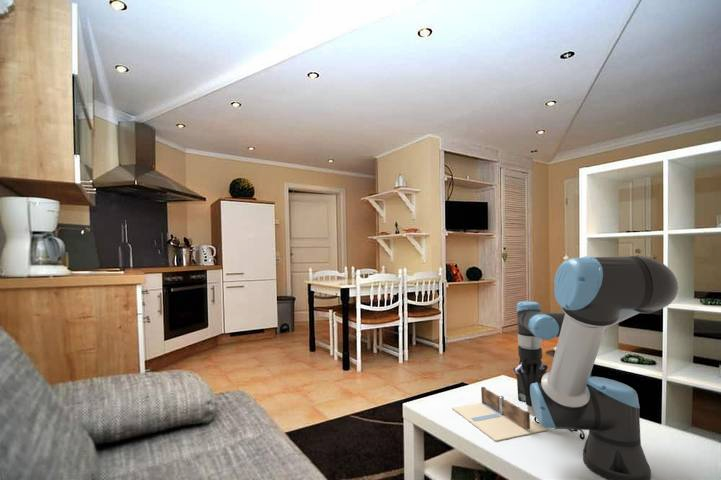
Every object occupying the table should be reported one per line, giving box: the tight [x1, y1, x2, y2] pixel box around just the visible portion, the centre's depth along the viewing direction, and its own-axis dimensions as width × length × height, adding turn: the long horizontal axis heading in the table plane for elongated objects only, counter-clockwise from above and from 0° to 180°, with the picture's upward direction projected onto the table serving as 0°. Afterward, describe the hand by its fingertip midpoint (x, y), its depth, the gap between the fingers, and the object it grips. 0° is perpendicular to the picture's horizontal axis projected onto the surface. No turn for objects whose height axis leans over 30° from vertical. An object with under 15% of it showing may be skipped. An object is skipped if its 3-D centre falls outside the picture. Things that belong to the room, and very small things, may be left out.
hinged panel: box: [503, 399, 531, 429], centre depth 121 cm, size 12×1×5 cm, turn 17°
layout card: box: [451, 402, 549, 443], centre depth 126 cm, size 25×21×1 cm
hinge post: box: [498, 395, 505, 415], centre depth 128 cm, size 2×2×6 cm
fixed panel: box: [480, 386, 500, 411], centre depth 134 cm, size 10×1×6 cm, turn 17°
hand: (532, 414), depth 122 cm, fingers closed
